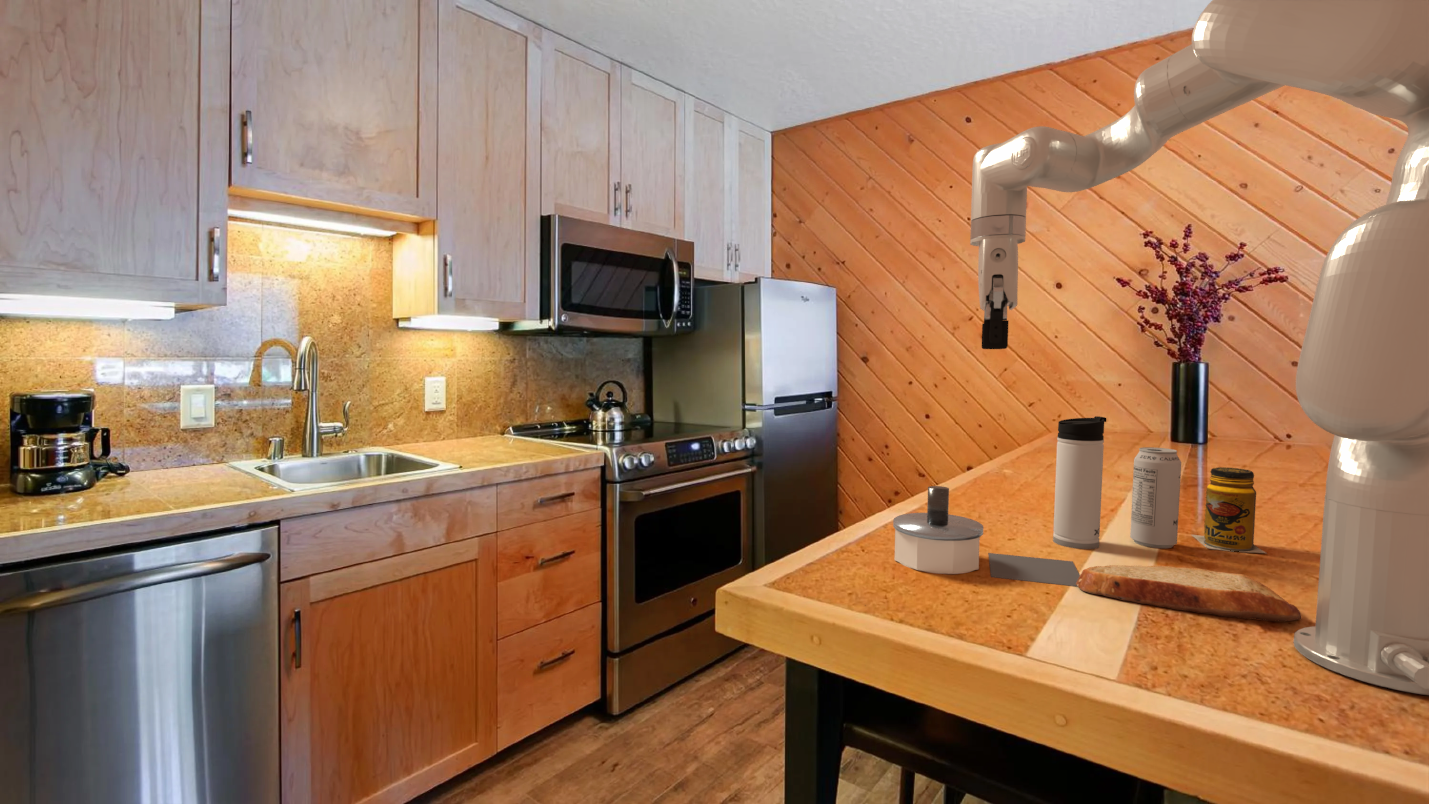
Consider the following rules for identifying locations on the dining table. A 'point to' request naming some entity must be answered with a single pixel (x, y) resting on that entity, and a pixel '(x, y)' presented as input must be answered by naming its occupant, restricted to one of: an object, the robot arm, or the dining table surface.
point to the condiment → (1230, 511)
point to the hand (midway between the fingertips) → (993, 348)
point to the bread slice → (1189, 591)
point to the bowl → (937, 554)
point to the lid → (938, 520)
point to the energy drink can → (1155, 497)
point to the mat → (1033, 569)
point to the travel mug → (1079, 482)
